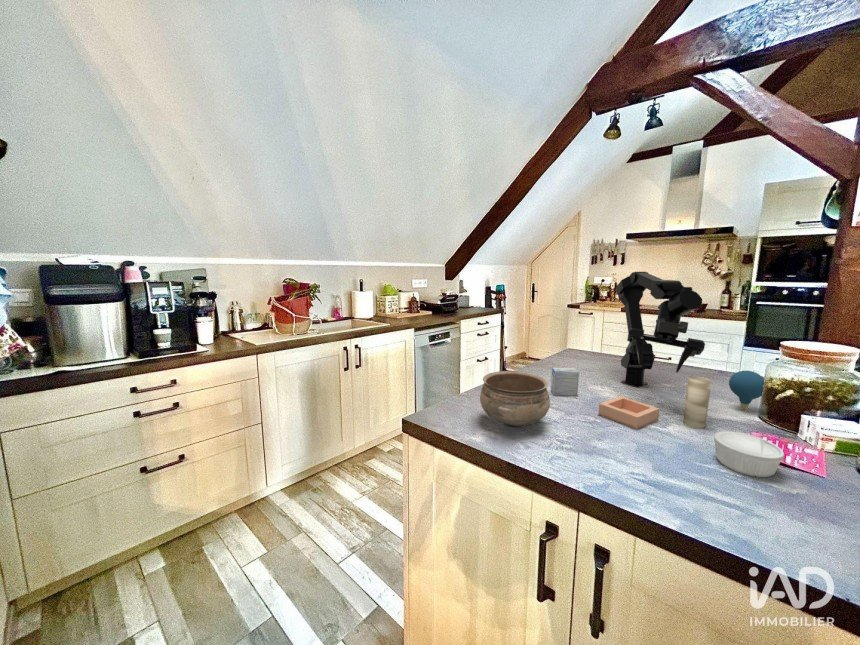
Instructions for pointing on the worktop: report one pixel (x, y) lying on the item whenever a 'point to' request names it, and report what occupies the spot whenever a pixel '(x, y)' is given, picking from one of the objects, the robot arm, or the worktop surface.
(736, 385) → the light bulb
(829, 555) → the worktop surface
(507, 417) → the cooking pot
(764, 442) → the ramekin
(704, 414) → the vase
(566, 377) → the medicine box
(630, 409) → the tray
